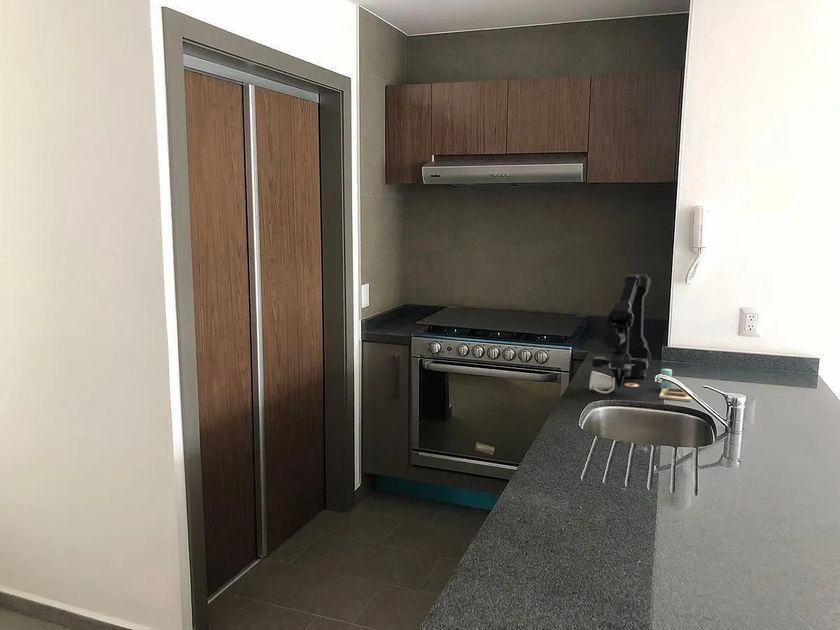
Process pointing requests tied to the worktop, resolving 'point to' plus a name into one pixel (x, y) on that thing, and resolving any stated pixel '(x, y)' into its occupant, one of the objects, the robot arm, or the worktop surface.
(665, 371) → the peg
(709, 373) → the worktop surface
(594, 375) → the cup
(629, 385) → the peach flat disc
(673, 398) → the board
